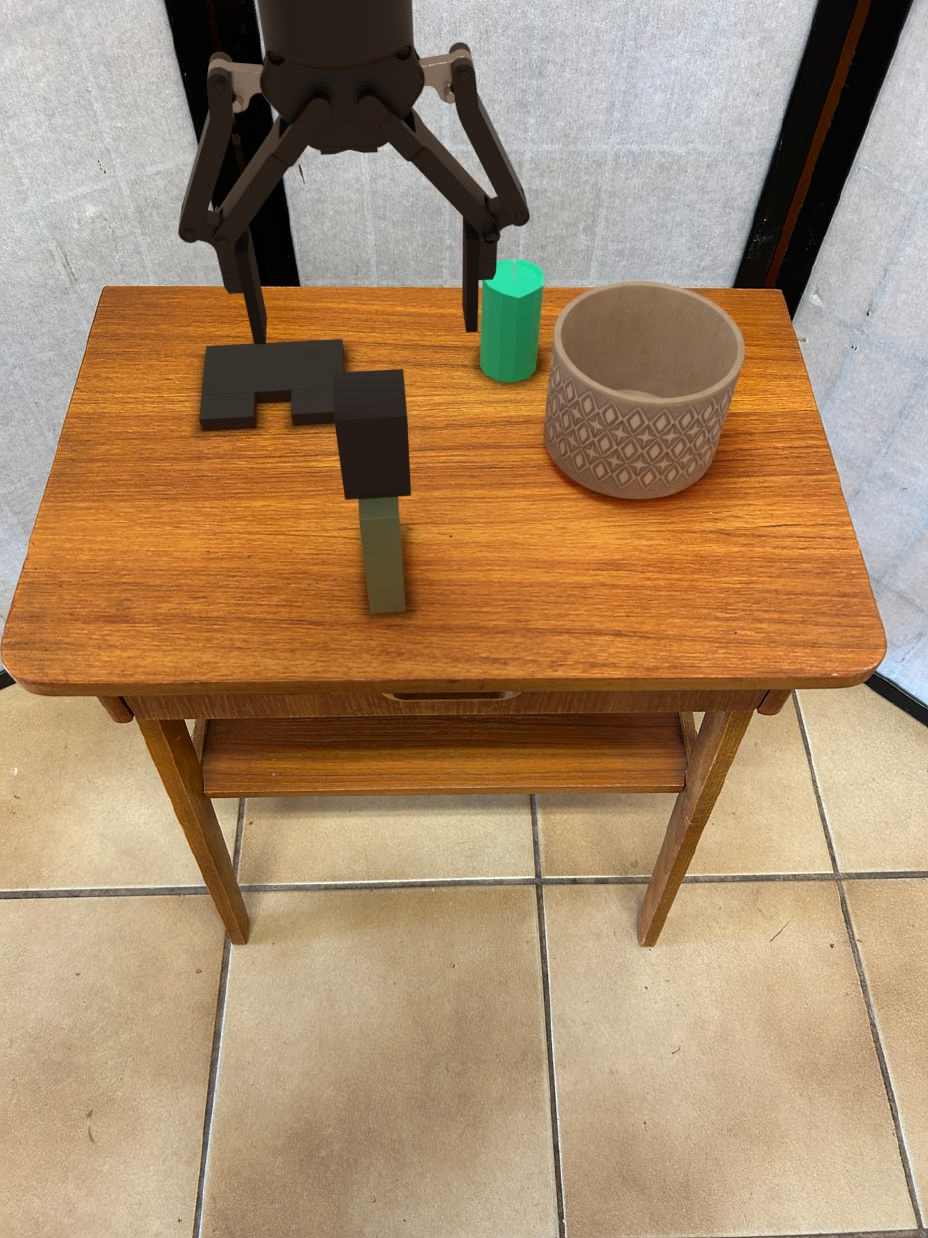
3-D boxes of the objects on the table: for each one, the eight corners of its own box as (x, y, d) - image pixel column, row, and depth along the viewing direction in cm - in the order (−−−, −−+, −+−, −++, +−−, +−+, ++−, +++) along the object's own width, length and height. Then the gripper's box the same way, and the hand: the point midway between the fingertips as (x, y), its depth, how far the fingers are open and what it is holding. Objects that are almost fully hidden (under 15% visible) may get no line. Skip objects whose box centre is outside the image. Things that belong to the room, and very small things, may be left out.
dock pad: (202, 430, 93) (198, 419, 92) (209, 357, 99) (206, 345, 98) (346, 422, 94) (344, 410, 92) (343, 350, 100) (342, 338, 99)
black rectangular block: (344, 500, 72) (334, 420, 65) (342, 426, 76) (332, 344, 70) (411, 496, 72) (407, 416, 65) (405, 422, 76) (400, 341, 70)
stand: (370, 614, 80) (359, 519, 70) (366, 533, 85) (355, 434, 76) (405, 611, 80) (399, 516, 71) (399, 531, 86) (393, 432, 76)
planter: (561, 517, 87) (576, 411, 76) (527, 396, 96) (537, 288, 86) (734, 499, 88) (772, 393, 78) (684, 381, 98) (712, 273, 87)
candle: (470, 373, 98) (472, 271, 88) (491, 339, 101) (496, 236, 92) (525, 388, 97) (533, 286, 87) (544, 353, 100) (555, 251, 90)
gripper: (579, -90, 48) (547, 279, 65) (71, -75, 46) (176, 299, 63) (607, -27, 43) (564, 351, 61) (46, -8, 42) (166, 374, 59)
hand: (366, 325), depth 62 cm, fingers open, 13 cm apart
